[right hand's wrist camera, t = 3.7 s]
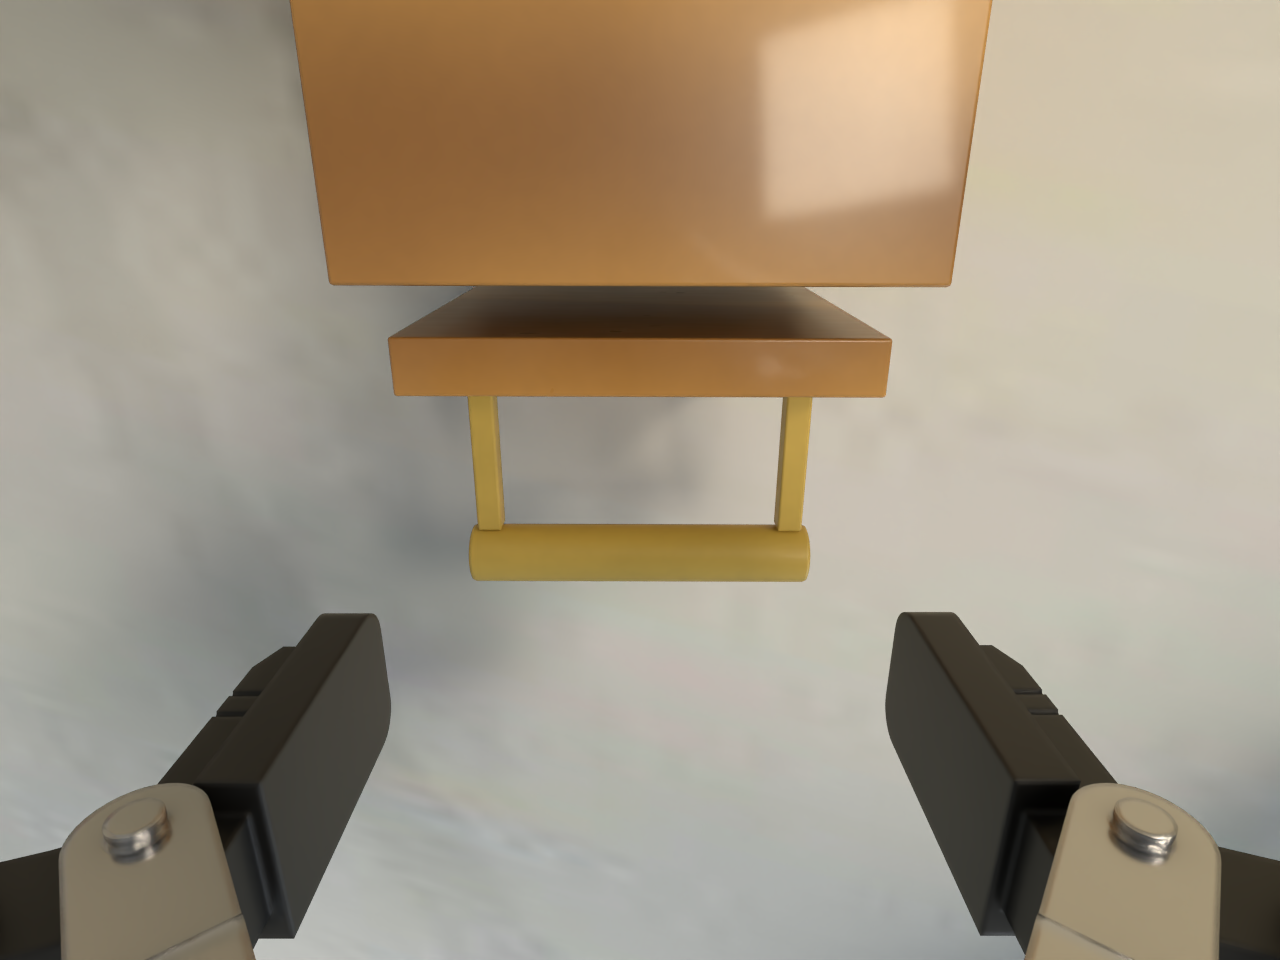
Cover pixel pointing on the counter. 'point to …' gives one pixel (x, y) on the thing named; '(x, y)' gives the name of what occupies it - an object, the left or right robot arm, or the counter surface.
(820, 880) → the counter surface
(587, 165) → the cabinet
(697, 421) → the counter surface
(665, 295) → the drawer
